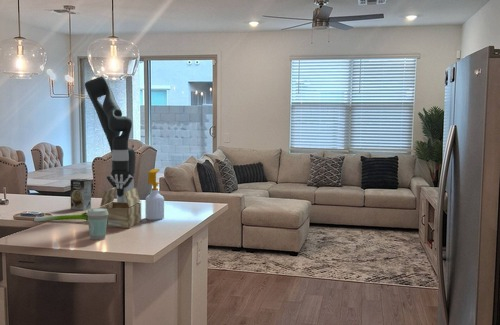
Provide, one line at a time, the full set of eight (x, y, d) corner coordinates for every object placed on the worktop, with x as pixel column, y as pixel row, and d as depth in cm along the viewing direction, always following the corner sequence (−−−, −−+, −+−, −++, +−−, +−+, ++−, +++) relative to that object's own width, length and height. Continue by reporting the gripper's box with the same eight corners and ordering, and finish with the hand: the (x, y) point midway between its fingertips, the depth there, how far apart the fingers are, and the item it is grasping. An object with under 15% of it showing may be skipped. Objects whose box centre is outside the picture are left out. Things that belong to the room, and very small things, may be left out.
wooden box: (113, 220, 246) (112, 201, 245) (141, 221, 244) (140, 202, 243) (99, 227, 229) (99, 207, 228) (129, 228, 227) (129, 208, 227)
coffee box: (70, 209, 272) (69, 179, 271) (78, 207, 278) (78, 178, 277) (83, 210, 269) (83, 180, 268) (91, 208, 275) (91, 179, 274)
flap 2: (139, 202, 243) (135, 187, 242) (140, 201, 242) (136, 187, 242) (128, 207, 227) (124, 192, 227) (129, 207, 227) (125, 192, 227)
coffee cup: (89, 236, 212) (89, 207, 211) (110, 236, 213) (110, 207, 212) (84, 241, 203) (84, 211, 202) (106, 240, 204) (106, 211, 203)
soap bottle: (167, 217, 254) (167, 168, 252) (158, 220, 246) (158, 170, 244) (151, 215, 257) (151, 168, 255) (142, 219, 249) (142, 169, 247)
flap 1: (112, 200, 244) (116, 187, 243) (113, 201, 244) (116, 187, 243) (100, 206, 229) (103, 191, 228) (100, 206, 229) (104, 191, 228)
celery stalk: (39, 223, 244) (100, 220, 243) (33, 228, 237) (96, 225, 237) (37, 211, 243) (99, 208, 242) (31, 216, 236) (94, 212, 235)
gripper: (103, 159, 231) (103, 197, 232) (131, 160, 229) (131, 198, 231) (109, 158, 238) (109, 194, 240) (136, 159, 237) (136, 195, 238)
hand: (120, 196), depth 235 cm, fingers closed
